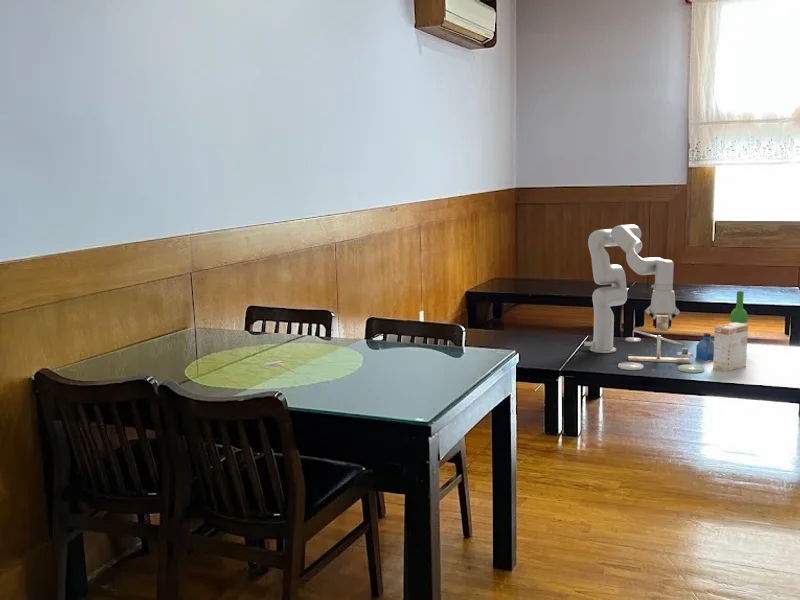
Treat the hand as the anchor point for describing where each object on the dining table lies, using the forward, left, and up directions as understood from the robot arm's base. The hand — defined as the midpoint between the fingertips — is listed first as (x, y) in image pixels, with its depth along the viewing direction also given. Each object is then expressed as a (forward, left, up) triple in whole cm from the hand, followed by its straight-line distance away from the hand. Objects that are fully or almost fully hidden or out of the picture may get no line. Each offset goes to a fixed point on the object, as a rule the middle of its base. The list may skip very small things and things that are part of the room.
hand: (661, 327), depth 357 cm
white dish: (-13, 0, -19) cm, 23 cm away
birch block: (0, 0, -1) cm, 1 cm away
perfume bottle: (+22, +23, -19) cm, 37 cm away
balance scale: (0, +15, -19) cm, 24 cm away
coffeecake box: (+30, +7, -19) cm, 36 cm away
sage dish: (+13, 0, -19) cm, 23 cm away
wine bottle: (+38, +38, -19) cm, 57 cm away
